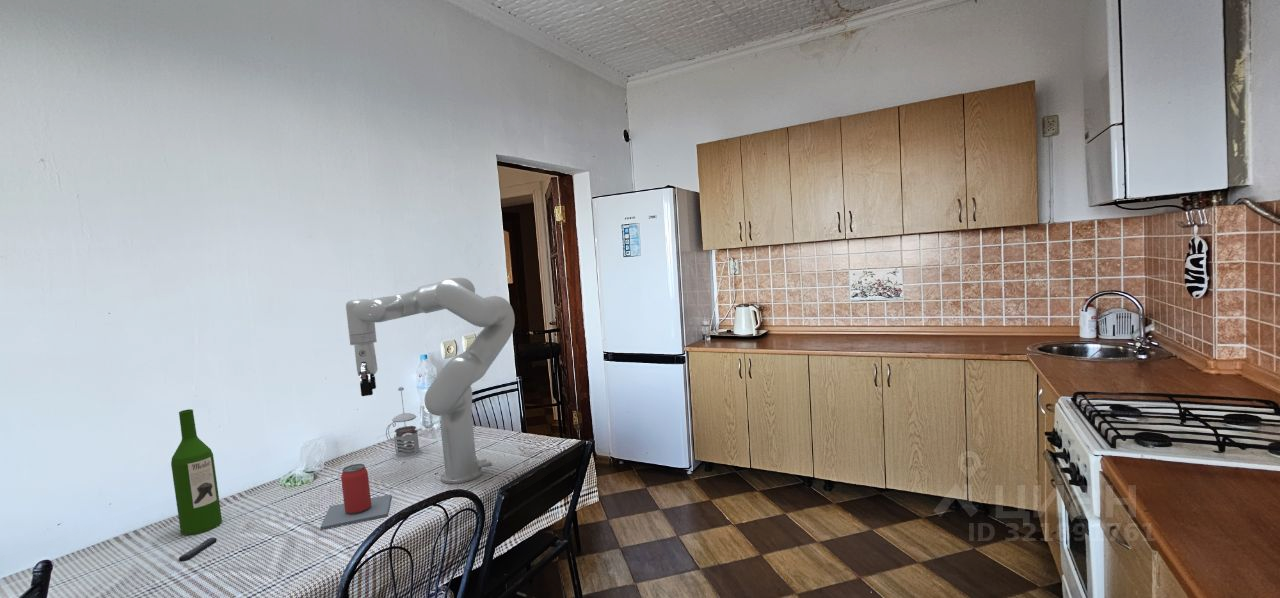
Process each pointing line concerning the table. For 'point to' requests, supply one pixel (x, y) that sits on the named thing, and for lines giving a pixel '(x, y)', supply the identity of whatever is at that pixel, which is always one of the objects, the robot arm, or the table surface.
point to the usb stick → (197, 549)
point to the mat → (340, 517)
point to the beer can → (355, 489)
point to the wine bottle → (195, 481)
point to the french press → (405, 437)
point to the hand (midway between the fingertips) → (369, 392)
